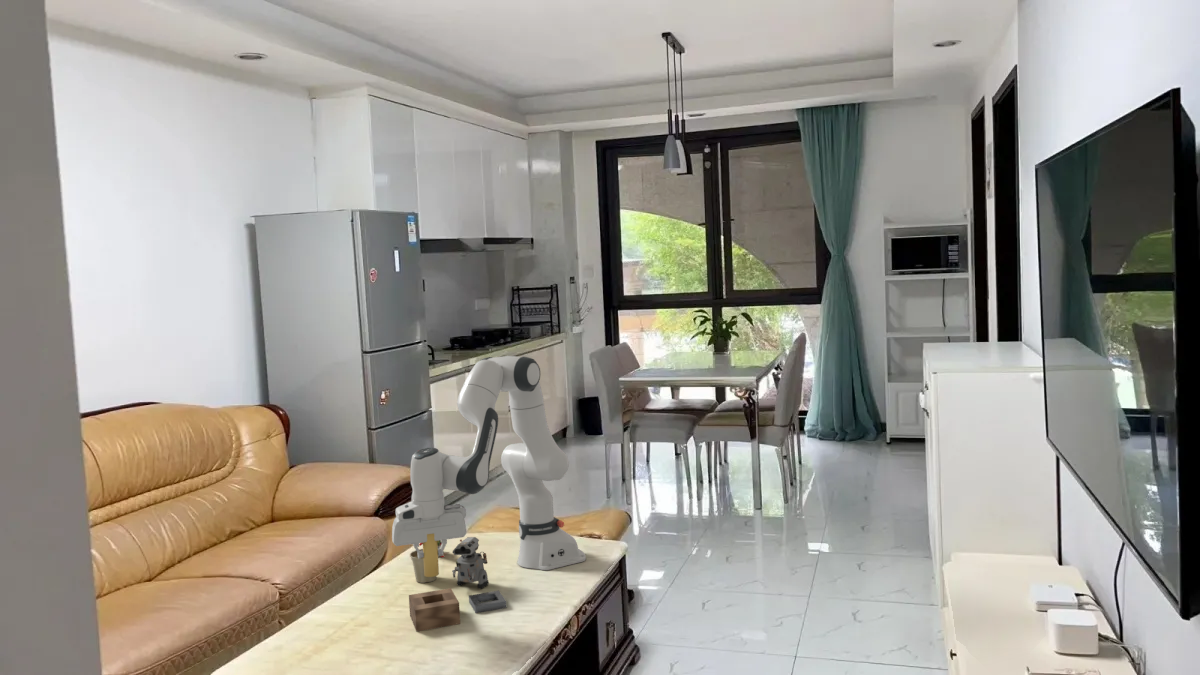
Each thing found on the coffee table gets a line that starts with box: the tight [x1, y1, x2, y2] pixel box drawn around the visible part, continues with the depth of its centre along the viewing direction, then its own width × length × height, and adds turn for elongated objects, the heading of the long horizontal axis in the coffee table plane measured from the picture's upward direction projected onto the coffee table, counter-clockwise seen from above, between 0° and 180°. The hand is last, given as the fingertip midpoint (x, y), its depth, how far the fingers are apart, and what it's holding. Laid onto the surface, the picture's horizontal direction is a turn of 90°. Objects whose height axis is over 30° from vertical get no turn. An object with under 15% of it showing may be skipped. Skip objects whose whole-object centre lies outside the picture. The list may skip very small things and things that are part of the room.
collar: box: [468, 590, 507, 614], centre depth 258 cm, size 9×9×2 cm
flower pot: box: [409, 548, 440, 584], centre depth 281 cm, size 9×9×9 cm
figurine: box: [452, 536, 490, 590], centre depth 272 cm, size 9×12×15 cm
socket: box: [408, 587, 461, 632], centre depth 249 cm, size 12×12×6 cm
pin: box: [422, 534, 440, 577], centre depth 247 cm, size 4×4×12 cm
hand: (430, 556), depth 247 cm, fingers closed on pin, 4 cm apart
